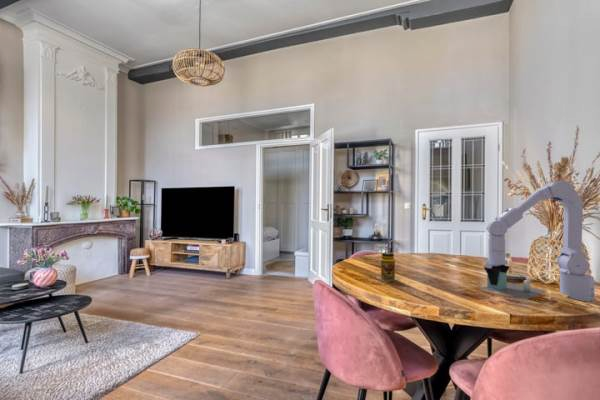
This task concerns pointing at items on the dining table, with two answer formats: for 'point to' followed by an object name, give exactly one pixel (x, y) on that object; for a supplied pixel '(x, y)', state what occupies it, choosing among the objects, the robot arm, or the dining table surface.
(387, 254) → the condiment
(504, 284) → the teal block
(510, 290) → the post board
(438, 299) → the dining table surface
